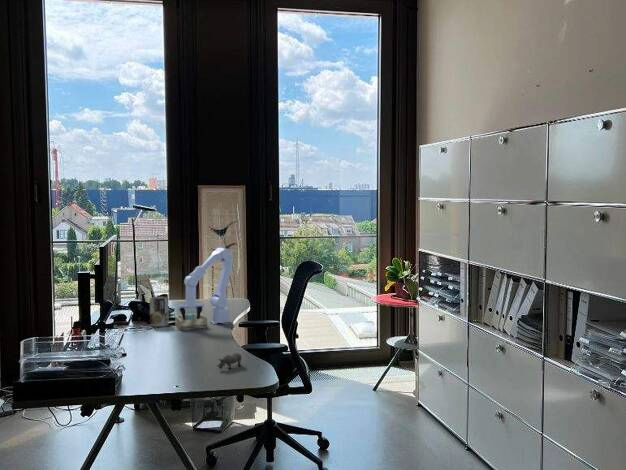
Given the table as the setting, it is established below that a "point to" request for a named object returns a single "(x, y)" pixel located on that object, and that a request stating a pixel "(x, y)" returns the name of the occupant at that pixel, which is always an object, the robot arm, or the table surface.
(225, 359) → the rhino figurine
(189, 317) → the peg
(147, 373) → the table surface
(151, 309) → the coffee box
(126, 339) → the table surface
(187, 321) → the box
